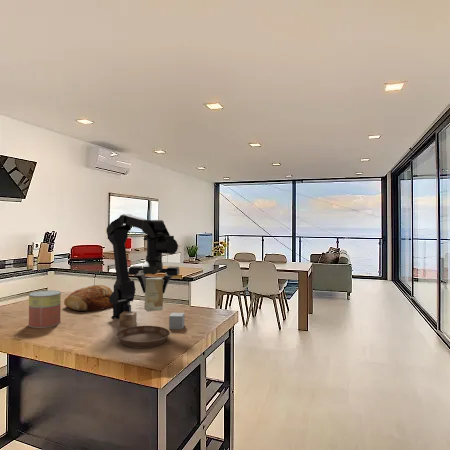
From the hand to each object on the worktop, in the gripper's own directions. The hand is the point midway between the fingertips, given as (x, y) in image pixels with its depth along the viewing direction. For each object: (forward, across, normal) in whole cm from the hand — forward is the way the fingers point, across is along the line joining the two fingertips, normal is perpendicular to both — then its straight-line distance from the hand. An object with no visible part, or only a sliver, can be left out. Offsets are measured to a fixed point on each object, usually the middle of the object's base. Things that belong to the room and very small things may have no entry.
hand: (154, 293), depth 139 cm
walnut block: (+13, -10, 0) cm, 16 cm away
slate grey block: (+13, +9, 0) cm, 16 cm away
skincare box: (+7, 0, 0) cm, 7 cm away
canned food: (+13, -43, 0) cm, 45 cm away
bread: (+14, -38, +28) cm, 50 cm away
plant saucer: (+13, +1, -17) cm, 21 cm away
